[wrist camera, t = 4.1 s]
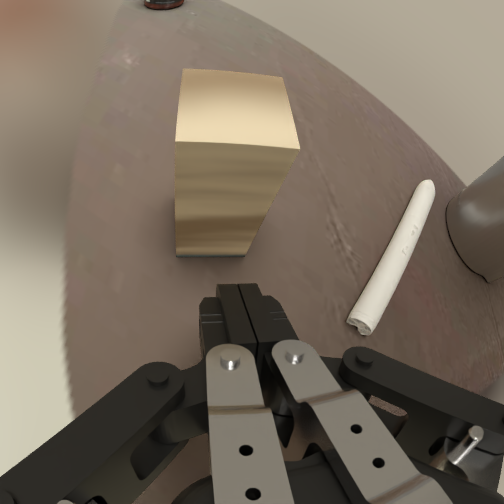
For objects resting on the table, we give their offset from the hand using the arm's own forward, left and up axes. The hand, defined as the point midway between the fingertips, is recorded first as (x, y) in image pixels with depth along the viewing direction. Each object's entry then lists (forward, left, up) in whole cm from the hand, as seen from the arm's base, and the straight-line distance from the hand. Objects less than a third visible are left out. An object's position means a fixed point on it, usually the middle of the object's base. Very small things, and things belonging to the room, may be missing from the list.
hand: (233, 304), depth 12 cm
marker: (-4, -16, -8) cm, 19 cm away
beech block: (+6, -4, -7) cm, 10 cm away
